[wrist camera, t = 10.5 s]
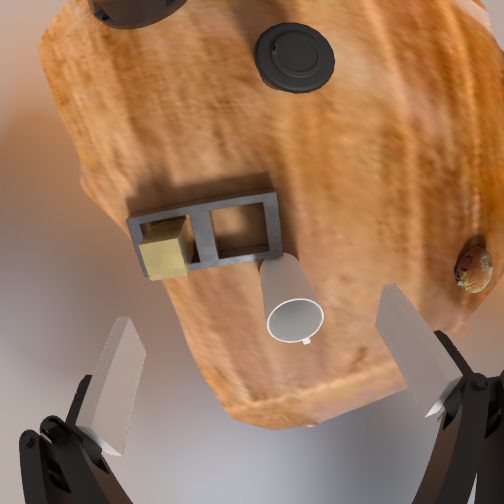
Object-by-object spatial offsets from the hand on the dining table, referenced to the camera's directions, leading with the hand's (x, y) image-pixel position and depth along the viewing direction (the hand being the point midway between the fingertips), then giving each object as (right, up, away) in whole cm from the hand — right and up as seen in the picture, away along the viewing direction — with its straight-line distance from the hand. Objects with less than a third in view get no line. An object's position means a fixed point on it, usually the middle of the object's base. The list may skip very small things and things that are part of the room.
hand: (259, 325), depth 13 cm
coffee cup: (+3, +26, +16) cm, 31 cm away
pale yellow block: (-11, +6, +25) cm, 28 cm away
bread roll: (+46, +1, +32) cm, 56 cm away
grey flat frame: (-7, +7, +25) cm, 27 cm away
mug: (+5, 0, +29) cm, 30 cm away
